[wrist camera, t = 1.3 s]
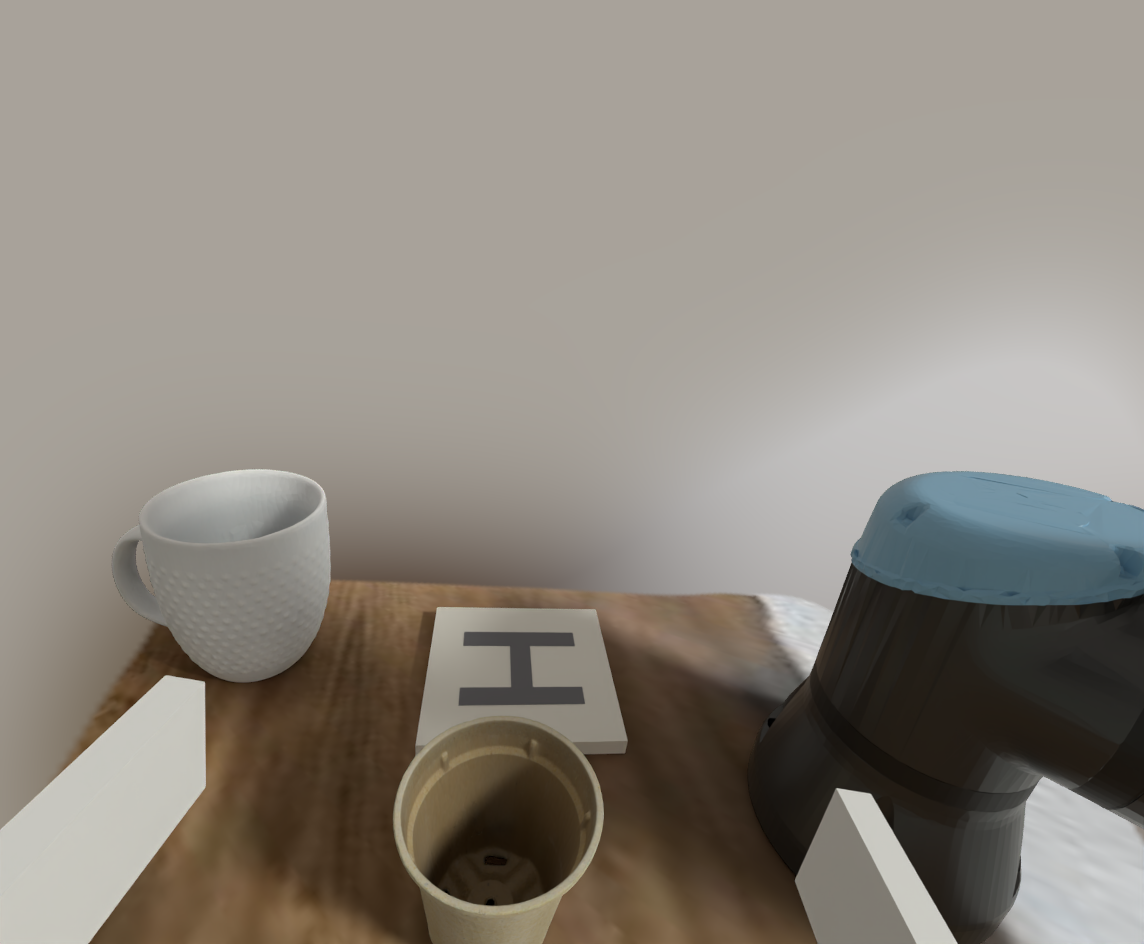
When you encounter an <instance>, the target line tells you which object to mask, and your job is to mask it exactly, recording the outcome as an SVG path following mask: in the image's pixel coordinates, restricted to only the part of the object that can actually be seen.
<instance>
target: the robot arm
mask: <svg viewBox="0 0 1144 944" xmlns="http://www.w3.org/2000/svg"><path fill="white" fill-rule="evenodd" d="M851 557H852V563H851V566H850V569H849V572H848V574H847V577H846V580H845V582H844V585H843V588H842V590H841V593H840V596H839V599H838V601H837V604H836V607H835V610H834V612H833V615H832V618H831V621H830V623H829V626H828V629H827V631H826V634H825V636H824V639H823V642H822V644H821V647H820V649H819V652H818V655H817V658H816V661H815V663H814V666H813V669H812V671H811V673H810V676H808V677H807V678H806V679H805V680H804V681H803V682H802V683H801V684H800V685H799V686H798V687H797V688H796V689H795V690H794V691H793V692H792V693H791V694H790V695H789V697H788V698H787V699H786V700H785V702H784V703H783V704H782V705H780V706H779V707H777V708H776V709H775V710H774V711H773V712H772V713H771V714H770V715H769V716H768V717H767V719H766V720H765V721H764V723H763V725H762V726H761V728H760V730H759V732H758V735H757V737H756V740H755V743H754V746H753V749H752V752H751V755H750V759H749V764H748V786H749V792H750V796H751V800H752V804H753V807H754V810H755V812H756V815H757V817H758V819H759V822H760V824H761V826H762V828H763V830H764V832H765V833H766V835H767V837H768V839H769V840H770V842H771V843H772V845H773V847H774V848H775V849H776V851H777V852H778V854H779V855H780V856H781V858H782V859H783V860H784V862H785V863H786V864H787V865H788V867H789V868H790V869H791V870H792V871H793V872H794V873H795V875H796V879H795V883H796V886H797V888H798V891H799V894H800V897H801V899H802V902H803V905H804V908H805V910H806V913H807V916H808V918H809V921H810V924H811V927H812V929H813V932H814V935H815V938H816V940H817V943H818V944H980V943H981V942H983V941H985V940H986V939H987V938H988V937H990V936H991V935H992V933H993V932H994V931H995V930H996V929H997V927H998V926H999V924H1000V923H1001V922H1002V920H1003V919H1004V917H1005V916H1006V915H1007V913H1008V912H1009V910H1010V909H1011V907H1012V906H1013V904H1014V902H1015V900H1016V897H1017V894H1018V891H1019V888H1020V882H1021V856H1020V854H1021V846H1022V838H1023V828H1024V816H1025V805H1026V801H1027V799H1028V797H1029V796H1030V794H1031V793H1032V791H1033V789H1034V788H1035V786H1036V785H1037V783H1038V782H1039V780H1040V779H1041V778H1042V777H1043V776H1044V777H1046V778H1048V779H1050V780H1052V781H1054V782H1056V783H1058V784H1060V785H1061V786H1064V787H1066V788H1068V789H1069V790H1071V791H1073V792H1075V793H1077V794H1079V795H1081V796H1083V797H1085V798H1086V799H1088V800H1090V801H1092V802H1094V803H1096V804H1098V805H1100V806H1101V807H1103V808H1105V809H1107V810H1109V811H1111V812H1113V813H1115V814H1116V815H1118V816H1120V817H1122V818H1124V819H1126V820H1128V821H1130V822H1131V823H1133V824H1135V825H1137V826H1139V827H1141V828H1143V829H1144V510H1143V509H1141V508H1139V507H1136V506H1133V505H1126V504H1124V503H1117V502H1113V501H1112V500H1111V499H1110V498H1109V497H1107V496H1104V495H1101V494H1098V493H1095V492H1091V491H1087V490H1084V489H1080V488H1076V487H1072V486H1067V485H1063V484H1058V483H1053V482H1049V481H1044V480H1038V479H1032V478H1027V477H1020V476H1012V475H1005V474H996V473H985V472H969V471H967V472H966V471H965V472H964V471H961V472H960V471H956V472H955V471H954V472H933V473H927V474H921V475H916V476H913V477H910V478H906V479H904V480H902V481H900V482H898V483H896V484H894V485H893V486H891V487H890V488H889V489H887V490H886V492H884V494H883V495H882V496H881V497H880V499H879V500H878V502H877V504H876V506H875V508H874V510H873V512H872V515H871V517H870V519H869V521H868V523H867V525H866V528H865V530H864V532H863V535H862V537H861V538H860V539H859V540H858V541H857V542H856V543H855V544H854V546H853V549H852V552H851ZM205 787H206V760H205V682H203V681H197V680H191V679H185V678H180V677H174V676H168V675H165V676H164V677H163V678H162V679H161V680H160V681H159V682H158V683H157V684H156V685H155V686H154V687H153V688H151V689H150V690H149V691H148V692H147V693H146V694H145V695H144V696H143V697H142V698H141V699H140V700H139V701H138V702H137V703H135V704H134V705H133V706H132V707H131V708H130V709H129V710H128V711H127V712H126V713H125V714H124V715H123V716H122V717H120V718H119V719H118V720H117V721H116V722H115V723H114V724H113V725H112V726H111V727H110V728H109V729H108V730H107V731H105V732H104V733H103V734H102V735H101V736H100V737H99V738H98V739H97V740H96V741H95V742H94V743H93V744H92V745H91V746H89V747H88V748H87V749H86V750H85V751H84V752H83V753H82V754H81V755H80V756H79V757H78V758H77V759H76V760H74V761H73V762H72V763H71V764H70V765H69V766H68V767H67V768H66V769H65V770H64V771H63V772H62V773H61V774H59V775H58V776H57V777H56V778H55V779H54V780H53V781H52V782H51V783H50V784H49V785H48V786H47V787H46V788H45V789H43V790H42V791H41V792H40V793H39V794H38V795H37V796H36V797H35V798H34V799H33V800H32V801H31V802H30V803H28V804H27V805H26V806H25V807H24V808H23V809H22V810H21V811H20V812H19V813H18V814H17V815H16V816H15V817H14V818H12V819H11V820H10V821H9V822H8V823H7V824H6V825H5V826H4V827H3V828H2V829H1V830H0V944H88V943H89V942H90V941H91V939H92V938H93V937H94V935H95V934H96V933H97V931H98V930H99V929H100V927H101V926H102V925H103V923H104V922H105V921H106V919H107V918H108V917H109V915H110V914H111V913H112V911H113V910H114V909H115V907H116V906H117V905H118V903H119V902H120V901H121V899H122V898H123V897H124V895H125V894H126V893H127V891H128V890H129V889H130V887H131V886H132V885H133V883H134V882H135V881H136V879H137V878H138V877H139V875H140V874H141V873H142V871H143V870H144V869H145V867H146V866H147V865H148V863H149V862H150V861H151V859H152V858H153V857H154V855H155V854H156V852H157V851H158V850H159V848H160V847H161V846H162V844H163V843H164V842H165V840H166V839H167V838H168V836H169V835H170V834H171V832H172V831H173V830H174V828H175V827H176V826H177V824H178V823H179V822H180V820H181V819H182V818H183V816H184V815H185V814H186V812H187V811H188V810H189V808H190V807H191V806H192V804H193V803H194V802H195V800H196V799H197V798H198V796H199V795H200V794H201V792H202V791H203V790H204V788H205Z"/></svg>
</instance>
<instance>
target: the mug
mask: <svg viewBox="0 0 1144 944" xmlns="http://www.w3.org/2000/svg"><path fill="white" fill-rule="evenodd" d="M139 540H140V541H142V542H143V547H144V553H145V556H146V563H147V565H148V571H149V574H150V582H151V583H152V586H153V588H154V594H155V596H154V595H152V594H151V593H150V592H149V590H148V589H147V588H146V587H145V585H144V584H143V582H142V580H141V578H140V576H139V573H138V570H137V566H136V547H137V544H138V542H139ZM329 542H330V537H329V522H328V518H327V503H326V496H325V492H324V491H323V489H322V487H321V486H320V485H319V484H318V483H316V482H315V481H313V480H311V479H309V478H307V477H305V476H302V475H298V474H295V473H291V472H285V471H277V470H264V469H260V470H259V469H257V470H256V469H251V470H237V471H228V472H222V473H216V474H211V475H207V476H202V477H198V478H194V479H191V480H188V481H185V482H182V483H179V484H177V485H174V486H172V487H170V488H168V489H166V490H164V491H162V492H160V493H158V494H157V495H155V496H154V497H153V498H152V499H150V500H149V501H148V502H147V503H146V504H145V505H144V506H143V508H142V509H141V511H140V513H139V525H137V526H135V527H133V528H132V529H130V530H129V531H127V532H126V533H125V534H124V535H123V536H122V537H121V538H120V539H119V541H118V542H117V544H116V546H115V548H114V551H113V556H112V572H113V577H114V581H115V584H116V586H117V589H118V591H119V593H120V594H121V596H122V598H123V599H124V601H125V602H126V603H127V604H128V605H129V606H130V608H131V609H132V610H133V611H135V612H136V613H138V614H139V615H141V616H142V617H144V618H146V619H148V620H150V621H153V622H155V623H158V624H161V625H163V626H167V627H168V628H169V630H170V631H171V632H172V635H173V637H174V638H175V640H176V641H177V642H178V644H179V645H180V646H181V648H182V650H184V652H185V653H186V654H188V655H189V657H190V659H191V660H192V661H193V662H195V663H196V664H198V665H199V667H201V668H202V669H204V670H205V671H207V672H208V673H210V674H212V675H214V676H216V677H218V678H220V679H223V680H227V681H231V682H255V681H259V680H263V679H267V678H270V677H272V676H275V675H277V674H279V673H281V672H283V671H285V670H286V669H288V668H289V667H291V666H292V665H293V664H294V663H296V662H297V661H298V660H299V659H300V658H301V657H302V656H303V655H304V653H305V652H306V651H307V650H308V648H309V647H310V645H311V643H312V642H313V640H314V638H315V637H316V634H317V632H318V630H319V628H320V626H321V622H322V619H323V617H324V611H325V608H326V604H327V598H328V595H329V584H330V581H331V580H330V570H331V568H330V566H331V563H330V555H331V554H330V543H329Z"/></svg>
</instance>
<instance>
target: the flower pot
mask: <svg viewBox="0 0 1144 944" xmlns="http://www.w3.org/2000/svg"><path fill="white" fill-rule="evenodd" d="M603 809H604V808H603V799H602V793H601V790H600V785H599V782H598V780H597V777H596V774H595V772H594V770H593V768H592V766H591V765H590V764H589V762H588V760H587V758H586V757H585V756H584V754H583V753H582V752H581V751H580V750H579V749H578V748H577V747H576V746H575V744H574V743H572V742H571V741H570V740H569V739H568V738H566V737H565V736H564V735H562V734H561V733H559V732H558V731H556V730H554V729H553V728H551V727H549V726H547V725H545V724H542V723H540V722H538V721H533V720H531V719H527V718H523V717H516V716H489V717H481V718H477V719H474V720H472V721H467V722H463V723H460V724H458V725H456V726H453V727H451V728H449V729H447V730H446V731H444V732H443V733H441V734H439V735H438V736H436V737H435V738H434V739H432V740H431V741H430V742H429V743H427V744H426V745H425V747H424V748H423V749H422V750H421V751H420V752H419V753H418V754H417V755H416V756H415V757H414V759H413V760H412V762H411V763H410V765H409V766H408V769H407V770H406V772H405V773H404V775H403V778H402V780H401V782H400V785H399V787H398V791H397V794H396V799H395V803H394V810H393V830H394V837H395V842H396V846H397V850H398V853H399V856H400V859H401V861H402V863H403V865H404V867H405V869H406V870H407V872H408V874H409V875H410V877H411V878H412V879H413V881H414V882H415V883H416V884H417V885H418V886H419V887H420V891H421V896H422V900H423V905H424V909H425V914H426V918H427V923H428V930H429V935H430V939H431V941H432V944H542V943H543V940H544V938H545V936H546V933H547V930H548V928H549V925H550V923H551V921H552V918H553V916H554V913H555V911H556V909H557V907H558V904H559V902H560V900H561V897H562V895H563V894H565V893H566V892H567V891H568V890H569V889H570V888H572V887H573V886H574V885H575V884H576V882H577V881H578V880H579V879H580V878H581V876H582V875H583V874H584V872H585V871H586V869H587V867H588V866H589V864H590V862H591V861H592V858H593V856H594V854H595V852H596V849H597V846H598V843H599V840H600V837H601V833H602V827H603V819H604V811H603ZM488 856H495V857H498V858H504V859H506V860H507V861H506V864H505V865H492V864H491V865H489V864H487V865H485V858H486V857H488ZM445 890H447V891H448V893H449V895H448V894H447V893H445V892H444V891H445ZM488 900H493V901H494V906H486V902H487V901H488Z"/></svg>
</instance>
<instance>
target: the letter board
mask: <svg viewBox="0 0 1144 944" xmlns="http://www.w3.org/2000/svg"><path fill="white" fill-rule="evenodd" d="M489 716H516V717H523V718H527V719H531V720H533V721H538V722H540V723H542V724H545V725H547V726H549V727H551V728H553V729H554V730H556V731H558V732H559V733H561V734H562V735H564V736H565V737H566V738H568V739H569V740H570V741H571V742H572V743H574V744H575V746H576V747H577V748H578V749H579V750H580V751H581V752H582V753H583V754H618V753H625V752H626V747H627V742H628V740H627V736H626V732H625V728H624V723H623V719H622V715H621V711H620V707H619V703H618V699H617V695H616V691H615V687H614V683H613V678H612V674H611V670H610V666H609V662H608V658H607V654H606V650H605V646H604V642H603V638H602V633H601V629H600V625H599V621H598V617H597V613H596V609H535V608H466V607H437V612H436V618H435V624H434V631H433V637H432V643H431V650H430V656H429V662H428V669H427V675H426V682H425V688H424V694H423V701H422V707H421V713H420V720H419V726H418V733H417V739H416V745H415V756H416V755H417V754H418V753H419V752H420V751H421V750H422V749H423V748H424V747H425V745H426V744H427V743H429V742H430V741H431V740H432V739H434V738H435V737H436V736H438V735H439V734H441V733H443V732H444V731H446V730H447V729H449V728H451V727H453V726H456V725H458V724H460V723H463V722H467V721H472V720H474V719H477V718H481V717H489Z"/></svg>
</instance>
